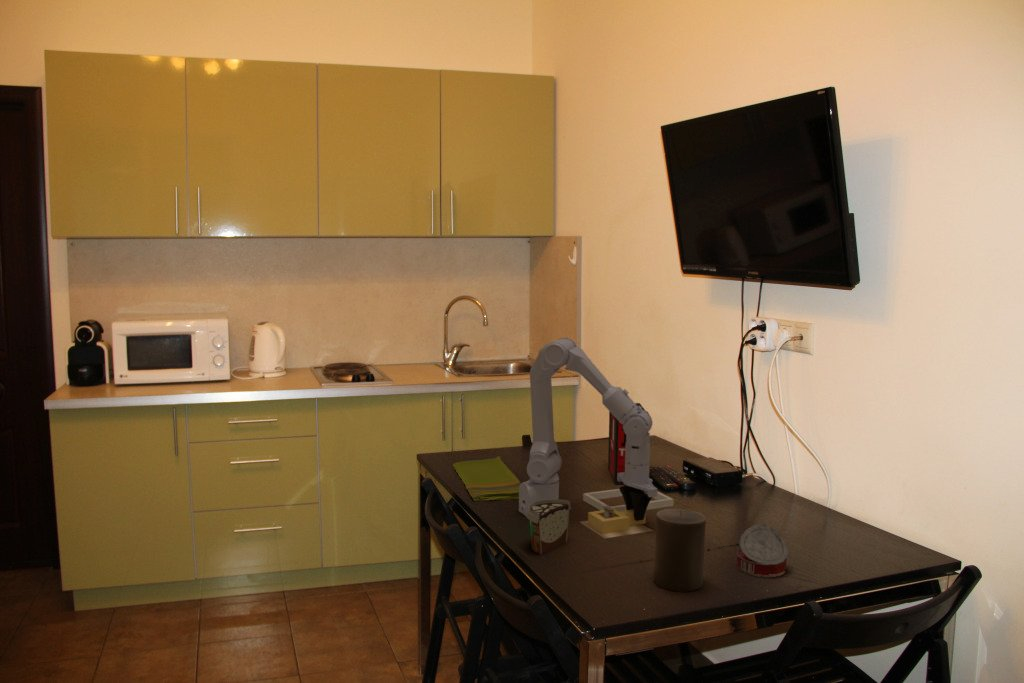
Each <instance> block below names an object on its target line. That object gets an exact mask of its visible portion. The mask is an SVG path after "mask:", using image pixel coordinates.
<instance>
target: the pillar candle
mask: <svg viewBox="0 0 1024 683" xmlns="http://www.w3.org/2000/svg"><path fill="white" fill-rule="evenodd" d="M706 521H707V518H706V516H705V515H704V514H703V513H700V512H698V511H695V510H690V509H684V508H683V509H682V508H681V509H680V508H665V509H663V510H660V511H658V512H656V523H655V524H656V525H655V543H654V544H655V547H654V565H653V580H654V583H655V584H656V585H657V586H659V587H661V588H662V589H664V590H665V589H666V590H669V591H675V592H682V593H687V592H693V591H697V590H699V589H701V588H702V587H703V585H704V568H705V567H704V564H705V546H706V545H705V544H706V540H705V539H706Z"/></svg>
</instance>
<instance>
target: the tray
mask: <svg viewBox="0 0 1024 683" xmlns="http://www.w3.org/2000/svg"><path fill="white" fill-rule="evenodd" d="M619 497H623V496H622V493H621V492H620V490H619V488H617V489H609V490H600V491H591V492H585V493H583V494H582V498H583V499H582V501H583V502H586V503H587V504H589V505H590V506H592V507H594V508H596V509H597V510H598V511H601V510H604V506H609V507H610V508H612V509H615V510H617V511H625V510H627V509H626V505H625V504H621V505H620V504H619V505H614V506H610V505H608V504H606V503H605V502H602V500H604V499H612V498H619ZM652 499H655V500H650V502H649V504H648V506H647V509H646V511H649V510H655V509H661V508H669V507H674V504H675V503H674V502H675V499H674V498H672V497H671V496H668V495H665V494H664V493H662V492H660V491H658V490H657V497H652Z"/></svg>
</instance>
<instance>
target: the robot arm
mask: <svg viewBox="0 0 1024 683" xmlns="http://www.w3.org/2000/svg"><path fill="white" fill-rule="evenodd" d="M564 366H565V368H564V370H565V371H571V372H577V373H578V374H580V375H581V376H582V378H584V379H585V380H586V381H587V382H588V383H589V385H591V386H592V387H593V389H595V390H596V391H597V392H598V393H599V394H600V396H601V400H602V401H601V403H602V405H603V406H604V407H605V408H606V409H607V411H608V412H609V411H610V412H611V413H612V414H613V416H614V417H615V418H616V419H617V420H618V421H619V420H620V419H621V418H622V419H621V420H620V421H619V422H620V423H622V424H623V425H624V426H623V430H624V432H625V434H626V447H625V472H622V473H617V481H619V482H621V481H622V482H623V483H624V484H625V485H621V486H620V487H619V488H618V489H619V490H620V492H621V493H622V496H621V497H622V498H623V500H624V503H625V504H624V505H626V509H627V510H632V509H633V510H634V519H635V520H636V521H639V520H643V519H644V516H645V512H646V511H647V510H646V509H647V506H648V504H649V502H650V501H652V499H653V497H657V491H658V487H656V486H655V485H654V484H653V481H654V480H653V479H652V478H650V464H651V463H650V459H651V458H650V457H651V456H650V455H651V454H650V453H651V452H650V451H651V442H650V441H651V437H650V436H651V435H650V434H651V433H650V431H651V429H652V427H653V418H652V416H651V415H650V413H649V412H648V411H647V410H646V409H645V410H646V411H645V410H642V407H643V406H642V407H641V406H637V405H636V404H635V403H636V402H634V401H633V399H632V398H631V397H630V396H629V395H628V394H629V391H628V390H627V389H626V388H625V389H623V388H621V387H620V386H614V385H612V384H611V383H610V381H608V379H607V377H606V376H605V375H603V373H602V372H601V371H600V370H599V368H598V367H597V365H595V364H594V363H593V361H592V359H590V358H589V357H588V355H587V354H586V352H585V351H584V349H583V348H581V347H580V346H579V345H577V344H576V342H575V341H574V340H573V339H571V338H569V337H561V338H559V339H557V340H555V341H554V340H553V341H550V342H548V343H546V344H545V345H544V346H543V347H542V348H540V349H539V351H538V354H537V357H536V358H535V360H534V362H533V364H532V366H531V368H530V370H529V384H530V386H529V387H530V405H531V406H530V407H531V423H532V424H531V425H532V426H531V427H532V445H531V448H530V452H529V459H528V460H529V461H528V463H527V466H526V472H527V475H528V477H529V479H528V480H526V481H524V482H521V484H520V487H519V500H518V512H519V513H521V514H522V515H524V516H525V517H526V518H527V516H526V515H527V511H528V508H529V506H530V504H532V503H534V502H536V501H540V500H547V499H559V498H560V496H559V490H560V489H559V488H560V477H559V474H558V472H559V471H560V469H561V467H562V466H563V465H562V464H563V461H562V457H561V455H560V453H559V450H558V444H557V442H556V441H555V434H554V433H555V430H554V429H555V428H554V411H553V410H554V409H553V408H554V406H553V391H552V390H553V388H552V384H553V383H552V377H553V376H554V375H555V374H556V373H557V372H558V371H559V370H560V369H561V368H562V367H564ZM633 407H634V408H633ZM559 500H560V499H559ZM646 513H647V512H646Z"/></svg>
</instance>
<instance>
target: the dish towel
mask: <svg viewBox="0 0 1024 683" xmlns="http://www.w3.org/2000/svg"><path fill="white" fill-rule="evenodd" d="M452 467H453V469H454V471H455V470H456V474H457V473H458V474H457V475H458V477H459V479H460V478H461V479H462V480H461V479H460V480H461V482H462V481H463V482H462V484H463V483H464V484H465V486H466V487H465V486H464V487H465V489H466V491H467V490H468V491H467V493H468V492H469V493H468V494H469V495H470V498H471V497H472V498H473V499H472V498H471V499H472V501H473V502H474V501H476V500H503V501H510V500H509V499H519V487H520V484H521V483H522V482H521V481H520V480H519V479H518V478H517V476H516V475H515V474H514V473H513V472H512V471H511V470H510V468H508V466H507V465H506V464H505V463H504V462H503V460H502V459H501V457H500V455H498V456H496V457H495V458H487V459H481V460H480V459H478V460H476V459H475V460H466V461H459V462H455V463H453V464H452ZM464 484H463V485H464ZM505 499H507V500H505Z"/></svg>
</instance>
